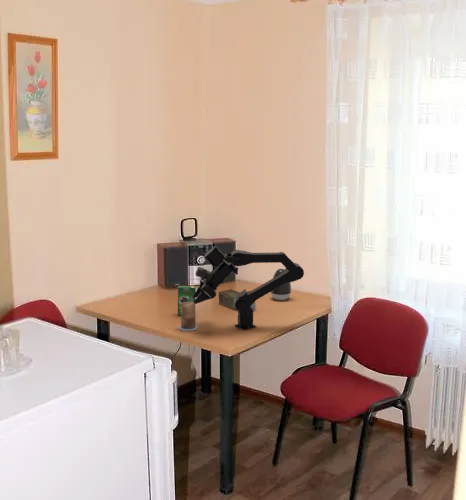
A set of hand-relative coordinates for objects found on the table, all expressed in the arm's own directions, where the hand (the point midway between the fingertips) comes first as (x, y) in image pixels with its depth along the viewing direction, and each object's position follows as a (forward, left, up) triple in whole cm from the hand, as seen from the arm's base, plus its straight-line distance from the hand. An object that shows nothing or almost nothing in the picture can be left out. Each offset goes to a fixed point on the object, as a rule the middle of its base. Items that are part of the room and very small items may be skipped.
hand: (193, 300), depth 259 cm
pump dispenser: (+10, -59, -12) cm, 61 cm away
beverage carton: (+13, -33, -12) cm, 38 cm away
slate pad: (+1, +2, -12) cm, 12 cm away
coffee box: (+17, -8, -12) cm, 22 cm away
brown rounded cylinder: (+1, +2, -11) cm, 12 cm away
